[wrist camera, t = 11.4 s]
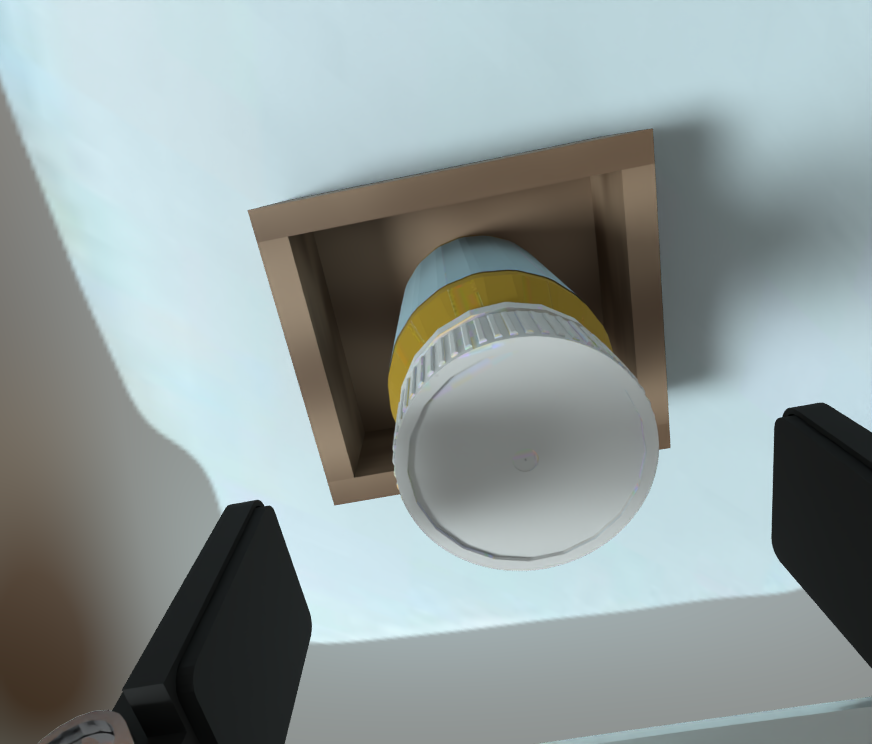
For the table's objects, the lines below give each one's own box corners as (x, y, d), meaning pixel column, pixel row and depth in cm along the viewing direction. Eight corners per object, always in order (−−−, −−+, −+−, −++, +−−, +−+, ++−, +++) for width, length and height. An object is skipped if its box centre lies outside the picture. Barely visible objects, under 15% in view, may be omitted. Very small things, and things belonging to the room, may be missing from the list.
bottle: (568, 252, 26) (728, 354, 12) (525, 389, 29) (618, 608, 15) (420, 216, 26) (410, 280, 12) (389, 359, 28) (348, 557, 14)
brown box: (283, 201, 26) (247, 210, 21) (607, 135, 26) (652, 128, 20) (350, 448, 31) (334, 505, 26) (628, 398, 30) (670, 447, 25)
